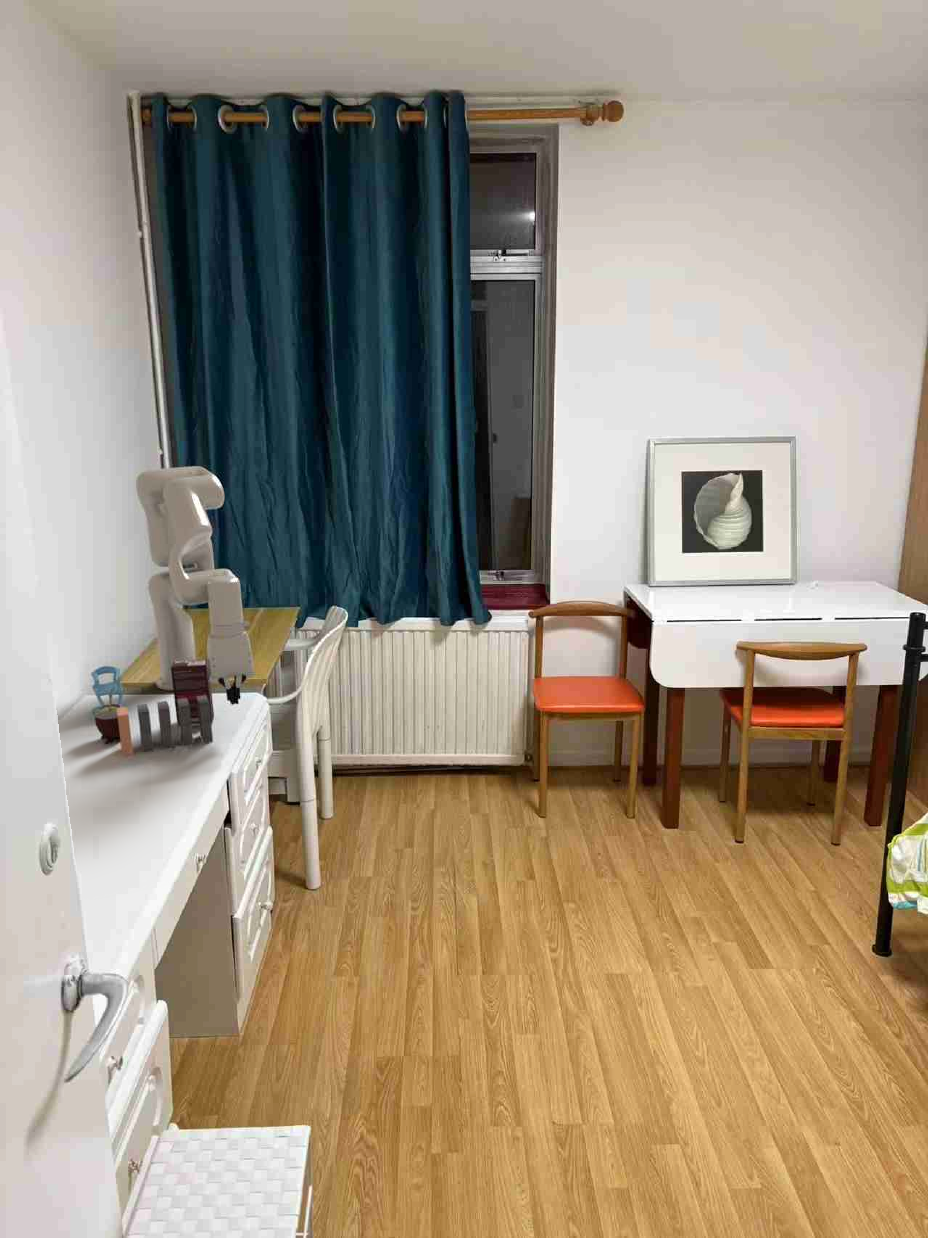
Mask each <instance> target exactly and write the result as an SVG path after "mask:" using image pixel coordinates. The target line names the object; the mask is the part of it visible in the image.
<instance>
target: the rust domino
mask: <svg viewBox="0 0 928 1238" xmlns="http://www.w3.org/2000/svg"><path fill="white" fill-rule="evenodd" d="M128 711H129V710H128V707H127V706H124V707H121V708H117V715H118V724H119V732H120V740H121V741H120V740H119V741H120V747H121V753H122V757H126V756H133V755H134V750H133V749H134V748H133V743H132V734H131V726H130V725H131V724H130V717H129V712H128Z"/></svg>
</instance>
